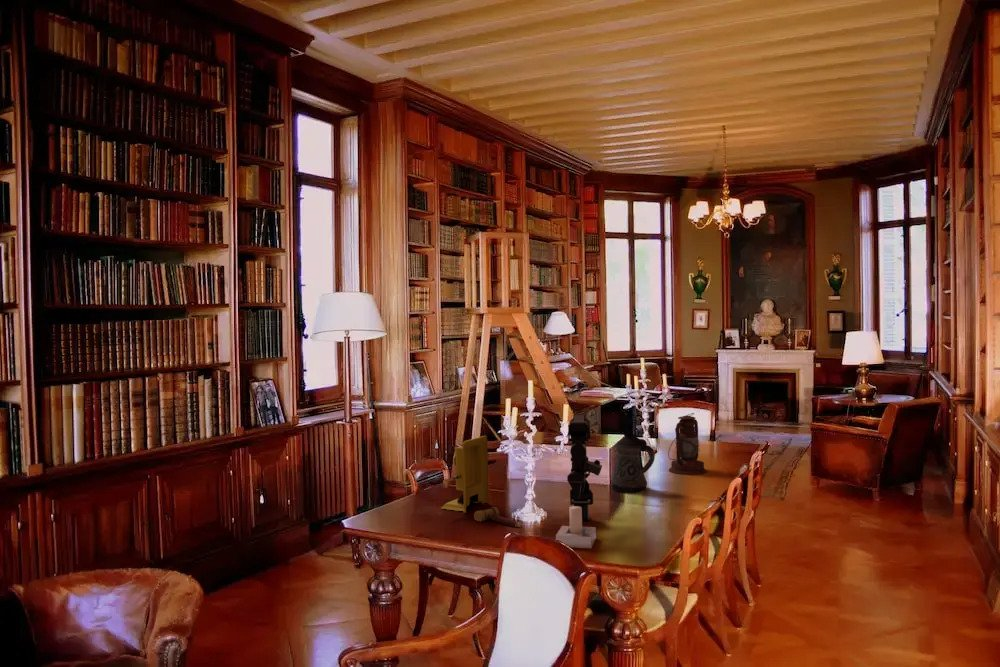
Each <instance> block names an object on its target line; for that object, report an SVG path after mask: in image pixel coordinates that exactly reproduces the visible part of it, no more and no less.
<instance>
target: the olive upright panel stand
mask: <svg viewBox="0 0 1000 667" xmlns="http://www.w3.org/2000/svg"><path fill="white" fill-rule="evenodd" d="M454 451H455V454H454V455H453V458H452V462H453V465H454V466H455V476H453V477H450V478H448V479H444V480H442V481H443V484H446V483H448V482H450V481H451V482H452V481H453V480H455V490H456V491H462V492H463V493H462V494H461V495H460V496H459V497H458V498H456V499H453V500H451V501H448V502H446V503H444V504H443V506H441V507H440V510H443V509H446V510H445V511H450V510H454V511H453V512H458V511H463V512H462V513H463V514H464V513H466V514H467V507H468V506H470V504H471V503H470V502H478V503H489V504H490V501H489V500H490V499H489V498H490V497H489V496H490V495H489V494H490V492H489V469H492V467H491V465H489V463H490V462H491V461H490V460H491V459H489V458H490V455H489V448H488V436H487V435H482V436H479V437H478V436H477V437H474V438H471V439H468V440H467V439H466V440H464V441H463V442H462V444H461V446H457V447H455V448H454ZM489 467H490V468H489ZM491 474H493V472H492V471H491ZM493 482H494V480H492V481H491V483H490V484H492V483H493Z"/></svg>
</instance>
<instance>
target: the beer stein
mask: <svg viewBox="0 0 1000 667" xmlns="http://www.w3.org/2000/svg"><path fill="white" fill-rule="evenodd" d="M615 450H616V457H615V463H614V464H615V465H614V472H613V476H612V478H611V481H610V483H611V490H613V491H615V492H618V493H624V494H635V493H636V494H637V493H642V492H644V491H646V490H647V486H648V481H647V478H646V475H645V473H646V472H647V471H649V469H650V468H651V467H652V466H653V464H654V463H655V458H656V455H655V452H654V451H655V450H654V448H653V447H652V446H650V445H648V443H647V441H646V440H645V439H644V438H639V437H637V435H635V434H625V435H624V436H623V437H622V438H621V439H620V440H619V441H618V442H616V444H615ZM643 452H645V453H647V454H648V456H649V459H648V460H647V463H646V464H645V465H643V459H642V453H643Z"/></svg>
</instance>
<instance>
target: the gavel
mask: <svg viewBox="0 0 1000 667" xmlns="http://www.w3.org/2000/svg"><path fill="white" fill-rule="evenodd" d="M473 517H474V520H477V521H480V522H479V523H482V522H481V521H483V522H484V520H485V521H488V520H491V521H494V522H497V523H499V524H503V525H505V526H508V527H511V528H520V527H521V525H520V524H519V523H518V522H517V521H516V520H513V519H510V518H508V517H507V518H506V517H505V516H501V515H500V510H499V508H498V507H497V506H492V507H490V508H487V509H483V510H477V511H475V512H474V514H473ZM487 519H488V520H487Z"/></svg>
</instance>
